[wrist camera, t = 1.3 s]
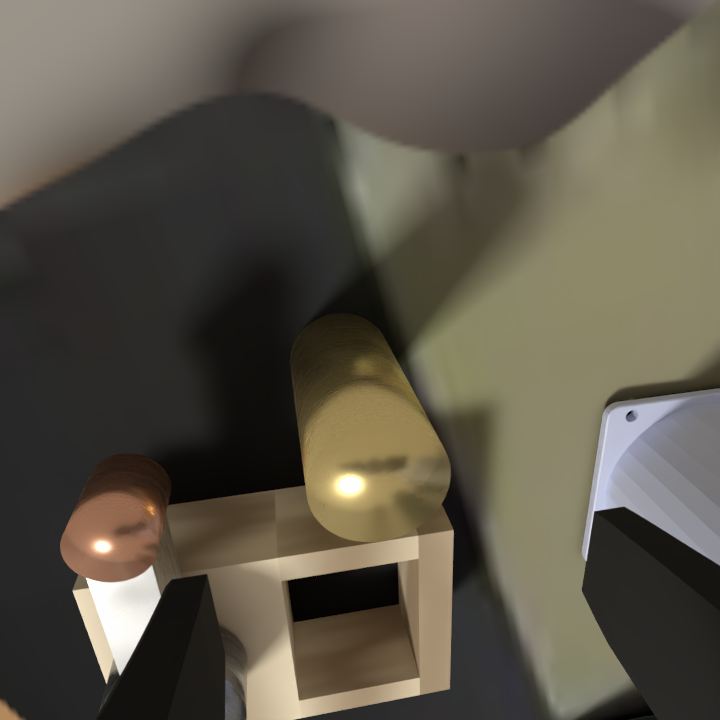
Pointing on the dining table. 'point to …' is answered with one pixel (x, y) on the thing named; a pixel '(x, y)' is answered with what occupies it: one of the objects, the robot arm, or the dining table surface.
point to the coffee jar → (646, 718)
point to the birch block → (316, 636)
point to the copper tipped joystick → (134, 562)
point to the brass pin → (363, 433)
